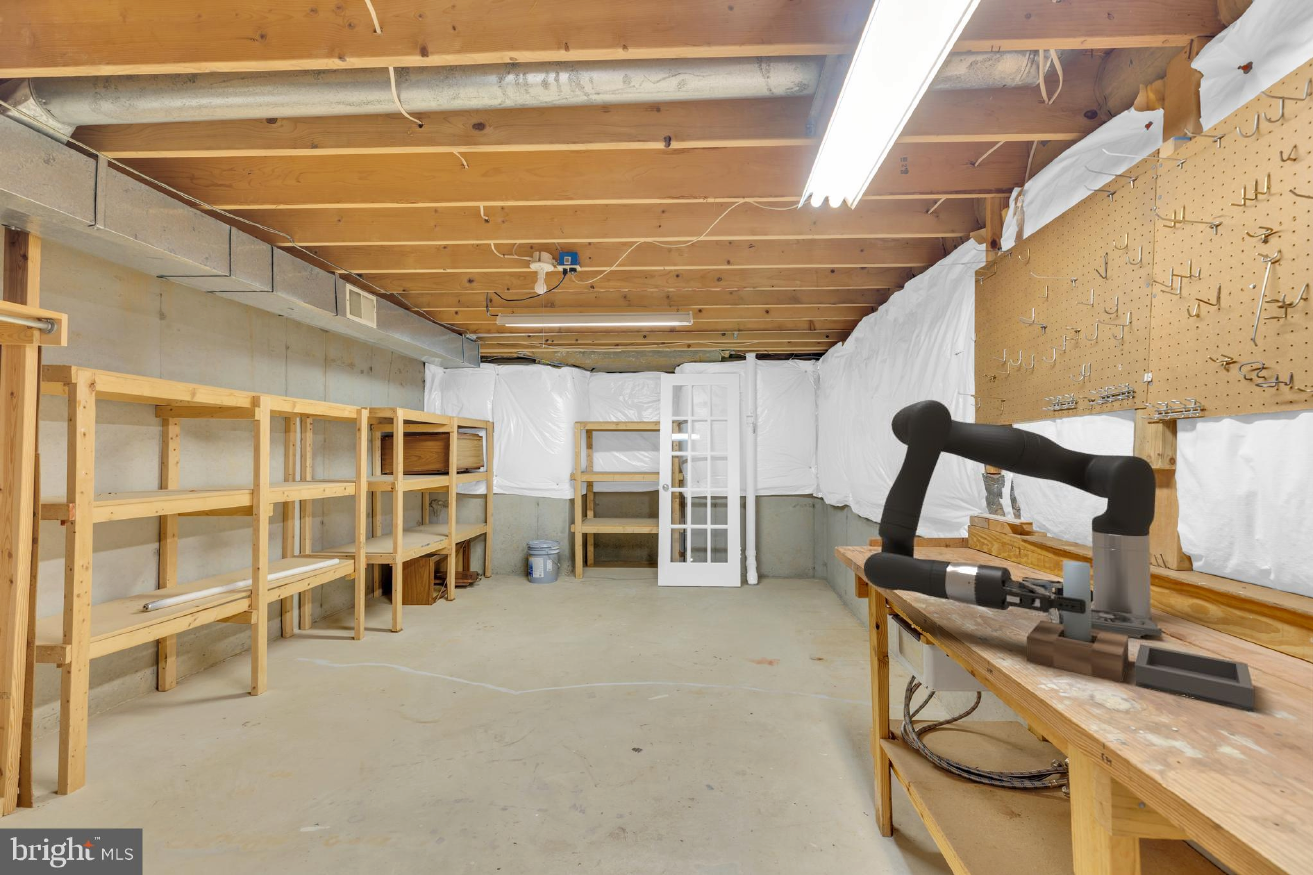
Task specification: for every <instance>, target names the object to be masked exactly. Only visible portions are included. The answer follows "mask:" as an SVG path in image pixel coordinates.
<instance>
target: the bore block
mask: <svg viewBox="0 0 1313 875" xmlns="http://www.w3.org/2000/svg"><path fill="white" fill-rule="evenodd" d="M1059 623H1060V622H1059ZM1059 623H1053V622H1051V621H1048V620H1042V619H1040V620H1039V622H1038V623H1037V624H1036V625H1035V627H1034V628H1033V629H1032V630H1031V631H1030V633H1029V634H1028V635H1027V636H1026V662H1028V661H1029V663H1033V664H1037V665H1043V666H1046V667H1051V668H1055V669H1060V670H1065V671H1069V672H1074V673H1078V674H1082V675H1087V676H1091V677H1095V678H1100V679H1104V680H1105V679H1106V680H1109V681H1114V682H1119V683H1123V682H1124V681H1123V680H1124V676H1125V673H1126V670H1127V666H1128V664H1129V637H1128V636H1127V635H1121V634H1116V633H1110V632H1104V631H1099V630H1093V629H1091V643H1089V642H1084V641H1078V640H1073V639H1068V638H1064V624H1062V623H1060V624H1059Z"/></svg>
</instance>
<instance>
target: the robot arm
mask: <svg viewBox="0 0 1313 875" xmlns="http://www.w3.org/2000/svg"><path fill="white" fill-rule="evenodd" d="M891 430H892V433H893V435H894V437H895V438H896V439H897V440H898V441H900V443H902V444H904V445H905V446H907V447H906V453H905V457H904V460H903V463H902V465H901V468H900V470H899V472H898V474H897V476H896V478H895V480H894V482H893V483H892V486H891V488H890V489H889V491H888V494H887V496H886V498H885V502H884V505H883V510H882V513H881V517H880V521H879V526H878V535H879V537H880V538H881V550H880V551H879V552H875V553H873V554H870V555H869V556H868V557H867V559H866V560H865V562H864V564H863V572H864V576H865V578H866V579H867V581H868V582H869V583H871V584H872V585H873V586H876V588H881V589H885V590H889V591H905V592H912V593H918V594H920V595H925V596H928V597H932V598H936V599H943V600H948V601H949V600H950V601H953V602H957V603H960V604H964V605H969V606H970V605H971V606H975V607H981V608H987V609H993V610H998V611H1007V610H1008V609H1010V607H1013V608H1018V609H1019V608H1020V609H1023V610H1024V609H1025V610H1030V611H1036V612H1040V613H1041V612H1042V613H1045V614H1048V613H1047V612H1049V610H1050V611H1056V610H1061V611H1067V612H1073V613H1079V614H1084V613H1085V612H1086V601H1085V600H1084V599H1078V598H1072V597H1065V596H1063V582H1062V581H1060V580H1052V579H1051V580H1050V579H1044V578H1043V579H1042V578H1035V577H1029V576H1025V577H1022V578H1021V580H1014V579H1012V574H1011V571H1010V570H1009V569H1008V567H1004V566H999V565H998V566H997V565H989V564H981V563H973V562H966V561H965V562H962V561H960V562H958V561H957V562H955V561H947V560H938V559H929V558H928V559H926V558H924V559H923V558H917V557H914V556H915V554H914V553H915V539H916V536H917V531H918V527H919V522H920V518H921V514H922V509H923V505H924V502H925V498H926V494H927V491H928V488H929V485H930V482H931V479H932V477H933V474H934V471H935V469H936V466H937V464H938V461H939V460H940V456H941V454H942V453H946V454H951V455H955V456H958V457H961V458H963V459H967V460H970V461H973V462H974V463H975V462H976V463H979V464H982V465H986V466H990V467H992V468H995V469H998V470H1002V471H1005V472H1008V473H1009V472H1010V473H1013V474H1017V475H1021V476H1026V477H1030V478H1035V479H1040V480H1049V481H1054V482H1059V483H1062V484H1065V485H1068V486H1070V487H1073V488H1075V489H1078V490H1079V491H1083V492H1085V493H1088V494H1090V495H1093V496H1096V497H1099V498H1103V499H1107V503H1106V504H1107V506H1106V510H1105V511H1104V512H1103V513H1101V514H1099V515H1096V516H1094V517H1093V518H1092V520H1091V542H1092V543H1091V544H1092V546H1091V548H1092V589H1091V604H1092V609H1094V610H1103V611H1111V612H1119V613H1127V614H1135V615H1143V616H1149V617H1152V615H1151V614H1152V612H1151V608H1152V607H1151V601H1152V600H1151V599H1152V598H1151V595H1152V594H1151V548H1150V547H1151V546H1150V544H1151V543H1150V540H1151V538H1150V529H1151V525H1152V523H1154V519H1155V511H1156V510H1155V508H1156V494H1157V492H1156V491H1157V490H1156V489H1157V485H1156V484H1157V482H1156V481H1157V480H1156V475H1155V472H1154V469H1153V467H1152V465H1151V464H1150V462H1149V461H1147V460H1146V459H1144V458H1142V457H1140V456H1135V455H1119V454H1118V455H1111V454H1108V455H1107V454H1105V455H1103V454H1093V453H1088V452H1087V453H1086V452H1082V451H1076V450H1072V449H1069V448H1065V447H1063V446H1062V445H1060V444H1058V443H1056V442H1055V441H1053V440H1052V439H1050V438H1049V437H1046V436H1045V435H1042V434H1039V433H1036V432H1033V431H1029V430H1025V429H1022V428H1018V427H1014V426H1008V425H1004V424H1003V425H1002V424H994V423H993V424H990V423H975V422H965V421H964V422H963V421H959V420H956V419H952V415H951V412H950V410H949V408H948V407H947V406H946V405H945V404H943V403H942V402H941V401H938V400H936V399H935V400H933V399H927V400H926V399H925V400H922V401H918V402H914V403H912V404H909V405H907V406H905V407H903V408H901V409H900V410H899V411H897V412H896V414H894V416H893V418H892V420H891ZM1053 588H1054V591H1053Z"/></svg>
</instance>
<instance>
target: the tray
mask: <svg viewBox="0 0 1313 875" xmlns="http://www.w3.org/2000/svg"><path fill="white" fill-rule="evenodd" d="M1134 677H1135V678H1134V685H1135V686H1137V687H1140V686H1142V687H1141V688H1146V689H1149V688H1151V689H1150V690H1154V689H1155V691H1158V690H1160V691H1159V692H1163V693H1167V692H1169V694H1172V695H1176V694H1178V695H1177V696H1181V695H1185V696H1188V697H1187V698H1190V697H1194V698H1196V699H1195V700H1198V699H1200V701H1204V702H1208V703H1213V704H1217V705H1221V706H1226V707H1231V708H1235V709H1240V710H1244V711H1248V712H1254V713H1255V696H1254V695H1255V694H1254V693H1255V692H1254V685H1253V682H1252V677H1251V673H1250V670H1249V665H1248V663H1246V662H1240V661H1235V660H1229V659H1225V658H1219V657H1218V658H1217V657H1214V656H1213V657H1212V656H1208V655H1207V656H1206V655H1202V654H1196V653H1191V652H1186V651H1181V650H1175V649H1169V648H1163V647H1158V646H1154V645H1148V644H1142V643H1140V644H1139V648H1138V651H1137V656H1136V659H1135V663H1134ZM1185 696H1184V697H1185ZM1194 698H1193V699H1194Z"/></svg>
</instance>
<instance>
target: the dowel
mask: <svg viewBox="0 0 1313 875" xmlns="http://www.w3.org/2000/svg"><path fill="white" fill-rule="evenodd" d="M1062 581H1063V596H1065V597H1072V598H1078V599H1084V600H1085V601H1086V612H1085V613H1084V614H1079V613H1073V612H1067V611H1064V638H1068V639H1073V640H1078V641H1084V642H1089V643H1091V609H1092V603H1091V590H1092V588H1091V586H1092V585H1091V584H1092V583H1091V564H1090V563H1088V562H1084V561H1076V560H1064V561H1063V562H1062Z"/></svg>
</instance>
